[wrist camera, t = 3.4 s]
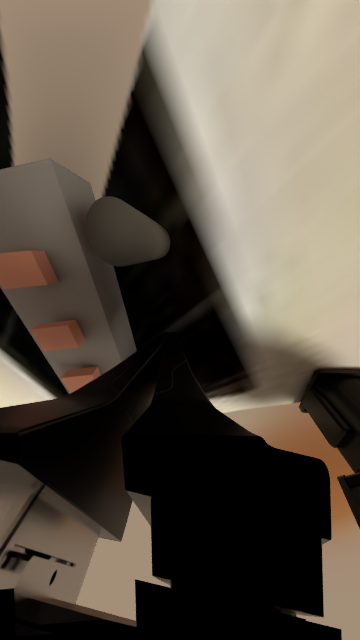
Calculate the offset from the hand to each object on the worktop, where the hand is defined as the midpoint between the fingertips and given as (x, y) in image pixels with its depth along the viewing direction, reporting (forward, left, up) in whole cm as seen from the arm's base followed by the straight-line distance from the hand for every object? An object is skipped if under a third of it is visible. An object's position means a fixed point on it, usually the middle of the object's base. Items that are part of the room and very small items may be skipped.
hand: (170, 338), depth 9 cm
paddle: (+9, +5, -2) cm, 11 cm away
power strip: (+9, 0, -5) cm, 11 cm away
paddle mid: (+9, 0, -2) cm, 10 cm away
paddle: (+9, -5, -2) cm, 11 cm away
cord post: (+1, -6, -5) cm, 8 cm away
